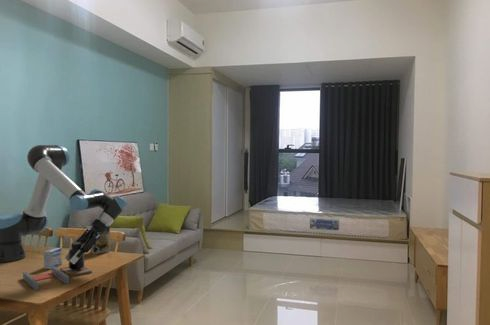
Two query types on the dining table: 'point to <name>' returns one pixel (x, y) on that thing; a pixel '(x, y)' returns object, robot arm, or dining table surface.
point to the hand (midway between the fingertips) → (69, 260)
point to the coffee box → (101, 243)
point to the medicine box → (52, 258)
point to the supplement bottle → (72, 252)
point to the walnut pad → (75, 271)
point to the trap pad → (43, 276)
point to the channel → (55, 271)
